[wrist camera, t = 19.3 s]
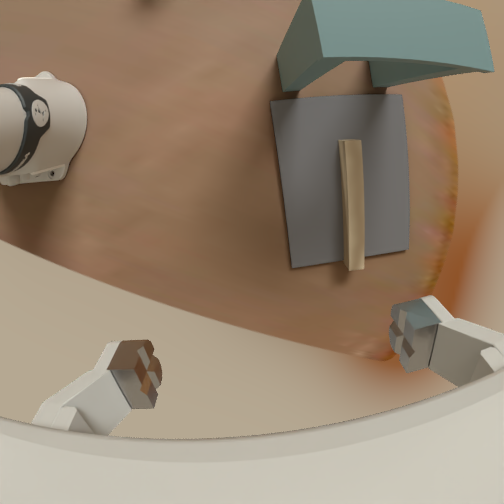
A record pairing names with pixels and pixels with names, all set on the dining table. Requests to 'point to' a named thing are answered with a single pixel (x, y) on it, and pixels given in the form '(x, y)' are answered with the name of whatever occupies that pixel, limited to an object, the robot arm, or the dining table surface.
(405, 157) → the mat
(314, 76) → the teal arch
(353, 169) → the stick
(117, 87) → the dining table surface
